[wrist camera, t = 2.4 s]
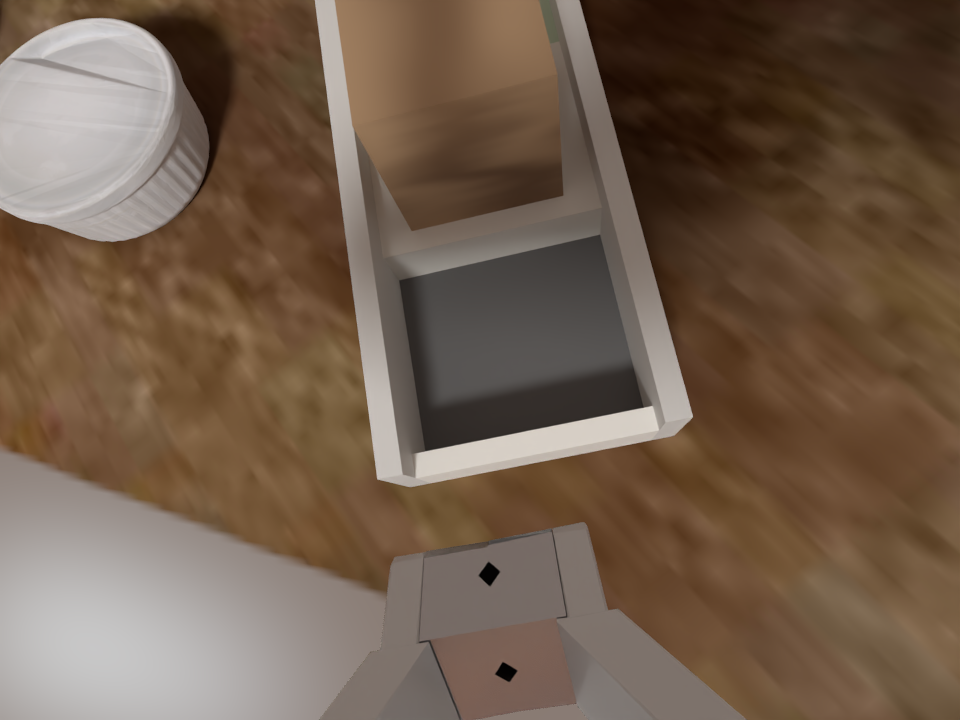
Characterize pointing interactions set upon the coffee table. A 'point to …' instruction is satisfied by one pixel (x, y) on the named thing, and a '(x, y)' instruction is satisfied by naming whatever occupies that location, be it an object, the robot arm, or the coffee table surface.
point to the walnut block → (454, 103)
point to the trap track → (507, 300)
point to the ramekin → (98, 131)
